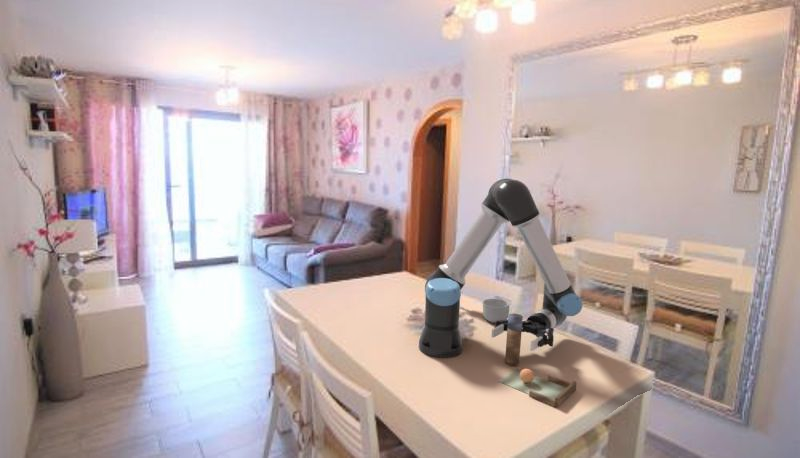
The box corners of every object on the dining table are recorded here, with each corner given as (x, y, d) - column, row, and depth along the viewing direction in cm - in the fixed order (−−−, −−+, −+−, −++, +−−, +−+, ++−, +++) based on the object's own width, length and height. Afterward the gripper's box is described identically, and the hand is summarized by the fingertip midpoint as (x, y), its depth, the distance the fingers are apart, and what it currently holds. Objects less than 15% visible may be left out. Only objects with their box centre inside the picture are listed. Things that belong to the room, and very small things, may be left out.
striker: (506, 366, 133) (509, 318, 130) (504, 359, 137) (507, 313, 135) (520, 367, 132) (523, 319, 130) (517, 360, 137) (521, 314, 134)
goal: (497, 382, 122) (497, 374, 122) (518, 368, 132) (518, 360, 131) (557, 408, 110) (558, 399, 110) (575, 390, 119) (576, 382, 119)
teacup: (509, 326, 166) (510, 307, 165) (481, 324, 168) (482, 305, 167) (507, 314, 179) (508, 296, 178) (481, 312, 181) (482, 294, 180)
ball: (520, 385, 121) (521, 372, 120) (518, 378, 125) (519, 365, 124) (534, 386, 121) (535, 373, 120) (532, 379, 125) (533, 366, 124)
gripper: (575, 343, 139) (548, 364, 124) (508, 323, 156) (477, 339, 141) (577, 322, 138) (550, 340, 123) (509, 303, 155) (478, 317, 140)
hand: (511, 339), depth 132 cm, fingers open, 13 cm apart
